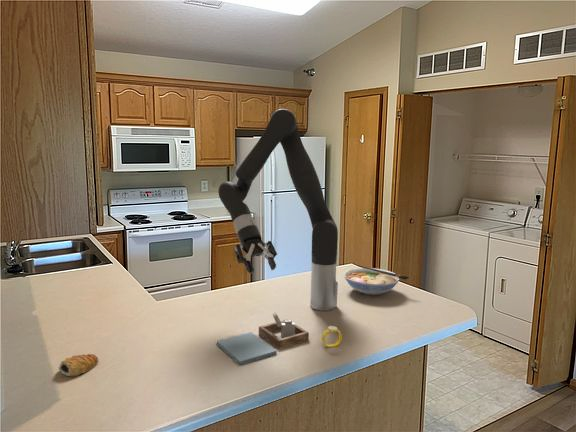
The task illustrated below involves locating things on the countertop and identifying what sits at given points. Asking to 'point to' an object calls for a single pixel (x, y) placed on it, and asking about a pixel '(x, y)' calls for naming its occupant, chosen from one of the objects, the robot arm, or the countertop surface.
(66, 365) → the pastry
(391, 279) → the ramen bowl
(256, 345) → the slate board
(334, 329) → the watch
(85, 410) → the countertop surface
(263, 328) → the frame
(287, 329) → the lighter
